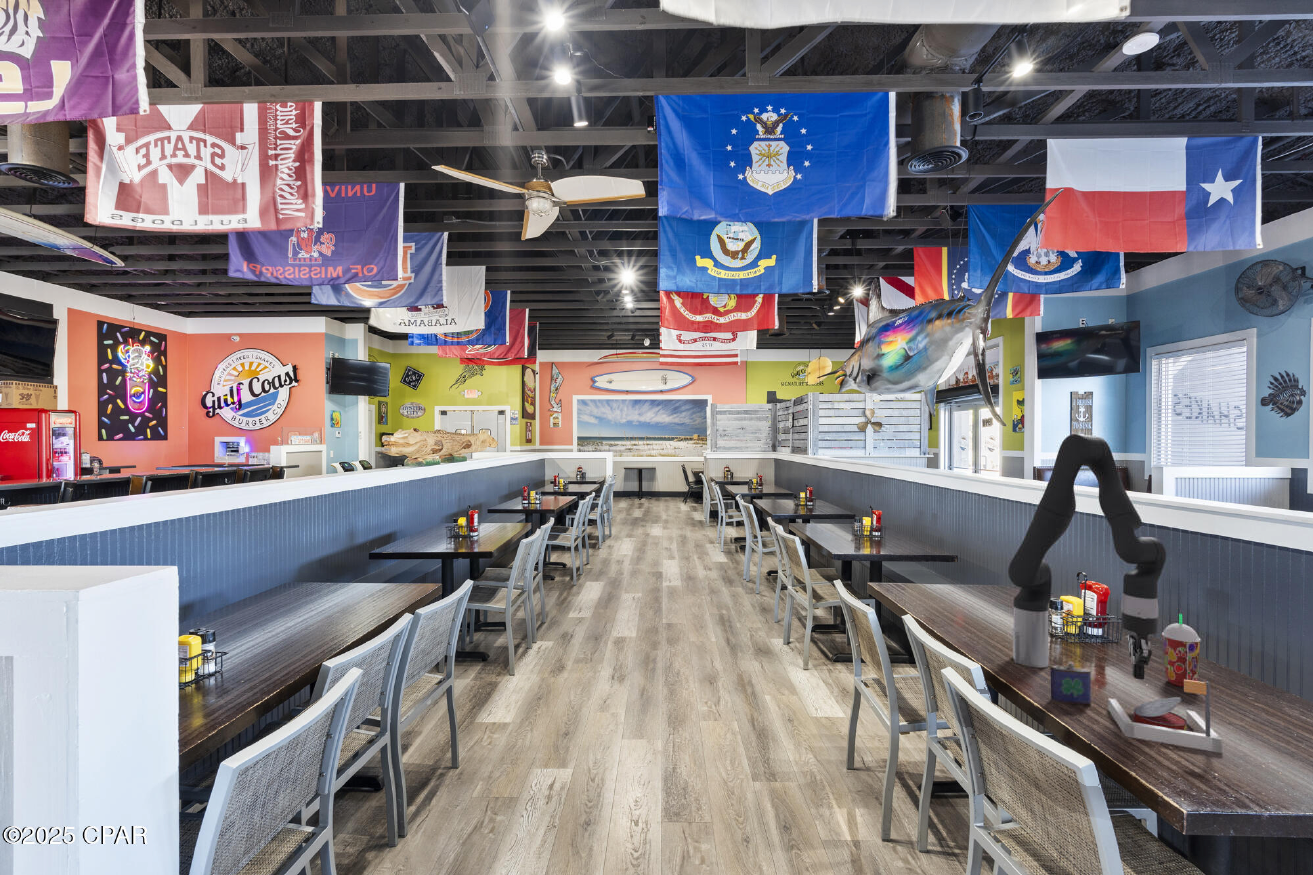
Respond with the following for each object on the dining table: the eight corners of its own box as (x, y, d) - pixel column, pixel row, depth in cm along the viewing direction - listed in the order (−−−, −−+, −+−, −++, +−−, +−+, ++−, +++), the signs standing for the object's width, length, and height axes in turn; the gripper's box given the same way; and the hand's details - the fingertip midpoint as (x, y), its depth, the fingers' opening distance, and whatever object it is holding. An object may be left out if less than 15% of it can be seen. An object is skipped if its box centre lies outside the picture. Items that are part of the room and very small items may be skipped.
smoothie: (1208, 690, 164) (1207, 619, 165) (1174, 688, 166) (1173, 617, 167) (1188, 679, 173) (1187, 611, 173) (1155, 677, 174) (1154, 609, 175)
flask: (1088, 702, 157) (1088, 661, 157) (1093, 706, 154) (1093, 665, 154) (1049, 698, 159) (1048, 658, 159) (1053, 702, 156) (1052, 662, 156)
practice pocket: (1125, 736, 138) (1124, 671, 138) (1108, 709, 152) (1107, 651, 152) (1222, 752, 130) (1220, 685, 131) (1194, 723, 144) (1193, 662, 145)
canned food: (1170, 757, 137) (1159, 723, 136) (1127, 732, 147) (1116, 700, 145) (1206, 732, 139) (1195, 698, 137) (1161, 709, 149) (1150, 677, 147)
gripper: (1115, 604, 162) (1114, 666, 162) (1128, 617, 150) (1127, 684, 150) (1150, 608, 159) (1148, 672, 159) (1165, 621, 147) (1164, 690, 147)
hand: (1138, 677), depth 155 cm, fingers closed
